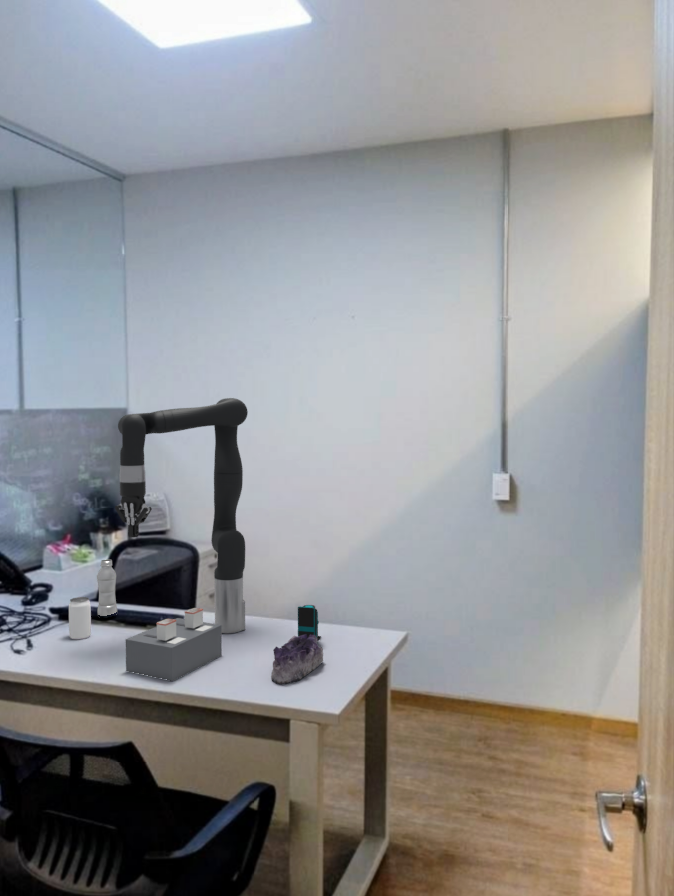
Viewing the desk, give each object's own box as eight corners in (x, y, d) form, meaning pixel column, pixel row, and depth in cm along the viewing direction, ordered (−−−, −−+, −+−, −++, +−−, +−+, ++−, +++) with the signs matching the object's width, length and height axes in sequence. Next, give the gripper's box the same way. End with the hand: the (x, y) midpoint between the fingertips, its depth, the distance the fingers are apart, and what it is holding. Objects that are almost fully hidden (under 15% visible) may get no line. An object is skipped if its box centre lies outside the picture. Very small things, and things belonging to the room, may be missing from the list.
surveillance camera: (324, 599, 220) (314, 608, 210) (324, 637, 220) (314, 647, 211) (307, 598, 221) (297, 606, 212) (307, 635, 222) (297, 646, 212)
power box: (126, 671, 191) (125, 638, 191) (178, 647, 211) (177, 617, 211) (172, 681, 184) (171, 647, 184) (221, 655, 204) (221, 624, 204)
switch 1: (156, 639, 190) (156, 622, 189) (167, 634, 194) (167, 618, 193) (165, 640, 188) (165, 624, 188) (176, 636, 192) (176, 619, 192)
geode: (303, 689, 180) (297, 651, 179) (263, 688, 184) (257, 651, 183) (331, 659, 199) (326, 625, 198) (294, 660, 203) (289, 626, 202)
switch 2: (184, 627, 200) (184, 611, 200) (194, 622, 204) (194, 607, 204) (193, 628, 199) (193, 612, 199) (203, 624, 203) (203, 608, 203)
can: (83, 640, 218) (83, 602, 217) (65, 639, 219) (64, 601, 218) (95, 634, 224) (94, 597, 223) (76, 633, 225) (76, 596, 225)
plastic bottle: (121, 615, 244) (120, 559, 243) (109, 621, 238) (108, 563, 237) (105, 614, 246) (104, 557, 245) (93, 619, 240) (92, 561, 239)
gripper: (158, 480, 213) (158, 536, 213) (124, 478, 218) (125, 533, 219) (140, 482, 206) (141, 540, 207) (107, 480, 212) (108, 537, 213)
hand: (133, 536), depth 213 cm, fingers closed
